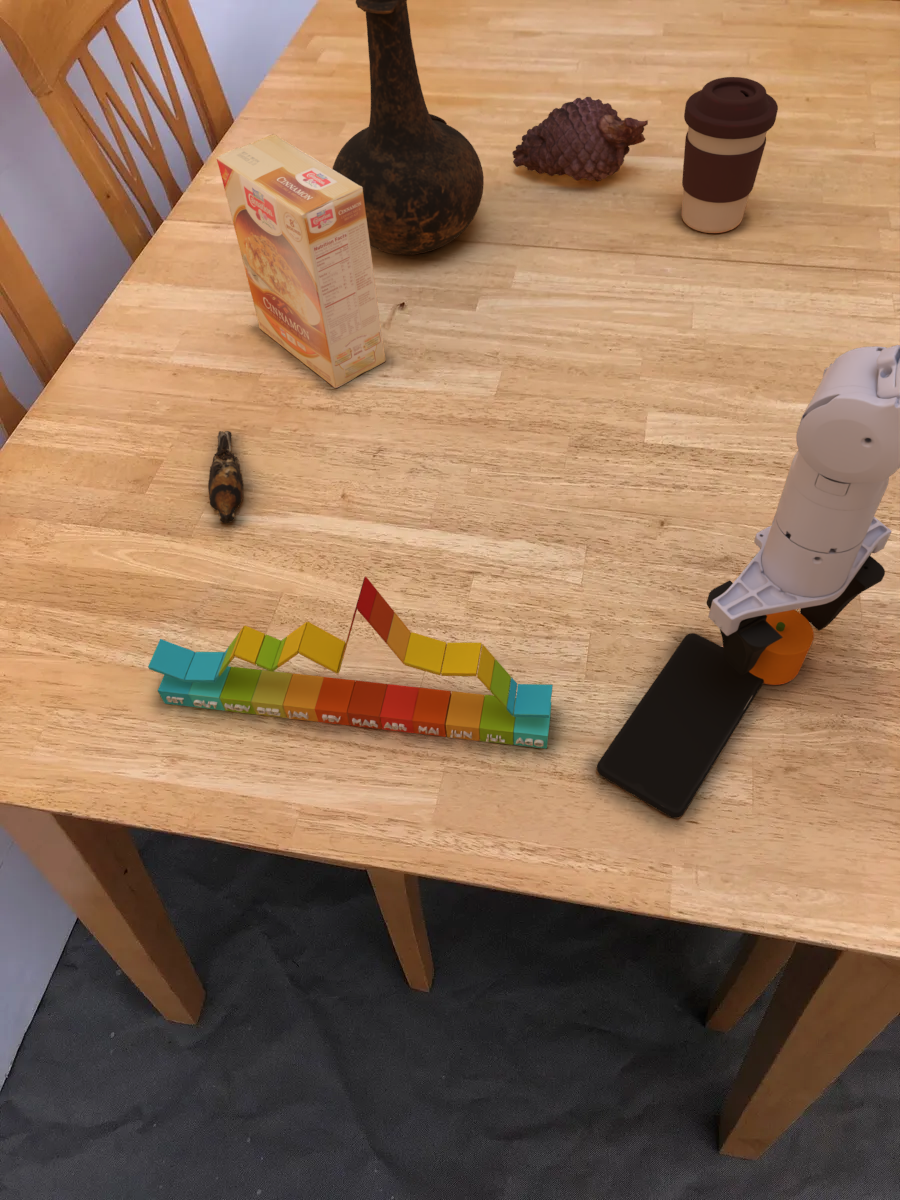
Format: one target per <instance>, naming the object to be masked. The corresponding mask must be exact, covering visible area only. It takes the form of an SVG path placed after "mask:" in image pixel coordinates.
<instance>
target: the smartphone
mask: <svg viewBox="0 0 900 1200" xmlns="http://www.w3.org/2000/svg"><path fill="white" fill-rule="evenodd" d="M763 684H764V680H763V679H761V678H759V677H757V676H755V675H753V674H751V673H750V672H747V673H745V674H744V675H740V674H739V673H738V672H737V671H736V670H735V669H734V668H733V667H732V666H731V665H730V664H729V663H728V662H727V660H726V659H725V658H724V648H723V645H722V646H721V645H720V644H717V643H716V642H714V641H712V640H710V639H708V638H706V637H704V636H702V635H699V634H697V633H694V632H690V633H687V634H686V635H685V636H684V637H683V639H682V641H681V642H680V643H679V645H678V646H677V647H676V649H675V651H674V652H673V653H672V655H671V656H670V658H669V659H668V661H667V662H666V664H665V665H664V666H663V668H662V669H661V671H660V672H659V673H658V675H657V676H656V677H655V679H654V680H653V682H652V683H651V685H650V686H649V688H648V690H647V691H646V692H645V693H644V695H643V697H642V698H641V699H640V701H639V702H638V704H637V705H636V707H635V708H634V710H633V711H632V713H631V714H630V716H629V717H628V718H627V720H626V722H625V723H624V724H623V725H622V727H621V729H619V732H618V733H617V734H616V736H615V737H614V738H613V740H612V741H611V743H610V744H609V746H608V747H607V748H606V750H605V752H604V754H603V755H601V758H600V759H599V760H598V762H597V763H596V771H597V773H598V775H599V776H600V777H602V778H604V779H605V780H607V781H609V782H610V783H612V784H614V785H615V786H617V787H619V788H621V789H622V790H623V791H625V792H627V793H629V794H631V795H633V796H634V797H636V798H637V799H639V800H641V801H643V802H644V803H646V804H647V805H649V806H651V807H653V809H656V810H658V811H659V812H661V813H662V814H664V815H666V816H668V817H669V818H672V819H678V818H681V817H683V815H684V814H685V812H686V811H687V809H688V807H689V806H690V805H691V803H692V801H693V799H694V798H695V796H696V794H697V793H698V791H699V789H700V788H701V786H703V785H702V784H703V783H704V781H705V779H706V778H707V776H708V775H709V773H710V772H711V770H712V768H713V767H714V765H715V763H716V761H717V760H718V758H719V756H720V755H721V753H722V751H723V750H724V749H725V747H726V745H727V744H728V742H729V741H730V739H731V737H732V735H733V734H734V732H735V731H736V729H737V727H738V726H739V724H740V723H741V721H742V719H743V717H744V716H745V714H746V712H747V711H748V709H749V708H750V705H751V704H752V703H753V701H754V700H755V697H756V696H757V694H758V693H759V691H760V690H761V689H762V686H763Z"/></svg>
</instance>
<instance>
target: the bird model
mask: <svg viewBox="0 0 900 1200" xmlns="http://www.w3.org/2000/svg"><path fill="white" fill-rule="evenodd" d="M217 434H218V435H217V448H216V452H215V453H214V455H213V458H212V462H211V466H210V468H209V475H208V477H209V478H208V483H207V485H208V486H207V487H208V489H207V490H208V496H209V498H208V499H209V505H210V507H211V508H212V509H213V510H215V511H218V519H219V521H220V523H224V524H228V523H229V524H230V523H232V522H233V521H234V520H235V514H236V512H235V511H236V510H237V509H238V508H239V507H240V506H241V504H242V501H243V497H244V494H243V493H244V492H243V491H244V490H243V489H244V480H243V476H242V473H241V465H240V460H239V459H238V457H237V456H235V454H234V453H232V436H233V434H232V432H231V431H229V430H225V431H222V430H220V431H218V433H217Z"/></svg>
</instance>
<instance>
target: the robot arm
mask: <svg viewBox="0 0 900 1200" xmlns="http://www.w3.org/2000/svg"><path fill="white" fill-rule="evenodd" d="M809 400H810V401H809V402H808V404H807V406H806V408H805V410H804V412H803V414H802V415H801V418H800V420H799V424H798V427H797V431H796V435H795V437H796V441H795V442H796V446H797V451H796V453H795V454H794V456H793V457H792V460H791V462H790V465H789V469H788V472H787V475H786V478H785V481H784V485H783V487H782V490H781V494H780V496H779V500H778V503H777V507H776V511H775V513H774V517H773V518H772V523H771V525H769V526H767V527H765V528H763V529H761V530H759V531H758V532H756V533H755V536H754V539H753V541H754V544H755V545H756V546H757V547H758V548H759V550H758V552H756V554H755V555H754V557H753V558H752V559H751V560H750V561H749V562H748V564H747V565H746V566H745V568H744V569H742V572H740V574H739V575H738V576H737V578H736V579H735V580H734V581H731V579H729V580H727V581H726V582H724V583H721V584H720V585H718V586H716V587H714V588H713V589H711V590H710V591H709V593H708V595H707V599H706V606H707V607H708V609H709V612H708V618H709V620H710V621H712V623H713V624H714V625H715V626H716V627H717V628H718V630H719V632H720V635H721V640H722V647H723V648H724V658H725V659H726V660H727V662H728V663H729V664H730V665H731V666H732V667H733V668H734V669H735V670H736V671H737V672H738V673H739V674H740V675H744V674H745V673H747V672H749V671H750V670H751V669H752V668H753V667H754V666H755V664H756V662H757V660H758V659H759V657H760V655H761V653H762V652H763V651H764V650H765V649H766V647H768V646H769V645H771V644H772V643H774V642H776V641H778V640H779V639H781V638H783V637H782V636H781V635H780V634H779V633H778V632H777V631H776V630H775V629H774V628H773V627H772V626H771V625H770V624H769V623H768V622H767V621H766V619H767V616H766V615H768V614H773V613H779V612H784V611H790V610H800V612H799V613H801V614H802V615H803V616H804V617H805V618H806V619H807V620H808V621H809V623H810V624H811V626H812V627H814V628H815V629H816V630H817V631H818V632H820V631H821V630H823V629H825V628H826V627H828V626H829V625H830V624H831V623H832V622H833V621H834V620H835V619H836V618H837V616H839V614H841V612H842V611H844V609H845V608H846V607H847V606H848V605H849V604H850V603H851V602H852V601H853V600H854V599H855V598H857V596H859V595H860V594H861V593H863V592H865V591H867V590H869V589H871V588H872V587H874V586H875V585H877V584H879V583H881V582H882V581H883V579H884V577H885V575H886V570H885V568H884V566H883V565H882V564H881V563H880V562H879V561H877V560H876V559H875V558H874V557H872V556H871V555H872V554H877V553H879V552H880V551H882V550H884V549H885V547H886V544H887V542H888V541H889V538H890V536H891V535H892V532H893V531H892V529H890V528H889V527H888V526H886V525H885V524H884V523H883V522H881V520H879V519H878V518H876V517H875V516H876V513H877V511H878V509H879V506H880V505H881V502H882V500H883V497H884V496H885V493H886V492H887V488H888V486H889V482H890V477H892V476H893V475H894V474H896V472H897V471H899V470H900V344H896V345H892V346H889V347H886V346H877V345H875V346H874V345H873V346H861V347H856V348H852V349H850V350H847V351H845V352H843V353H842V354H840V355H838V356H837V357H836V358H834V361H833V362H832V363H830V364H829V365H828V366H826V367H825V369H824V370H823V373H822V378H821V380H820V381H819V384H818V385H817V387H816V389H815V391H814V393H813V395H812V396H811V399H809Z"/></svg>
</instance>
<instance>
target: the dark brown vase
mask: <svg viewBox="0 0 900 1200" xmlns="http://www.w3.org/2000/svg"><path fill="white" fill-rule="evenodd" d="M407 1H408V0H355V5H356V7H357V8H358V9H360V10H361V11H362V12H364V13H365V20H366V33H367V34H366V35H367V47H368V50H367V51H368V60H369V81H370V84H369V85H370V115H369V124H368V126H367V127H365V128H364V129H361V130H359V132H357V133H355V134H354V135H353V136H351V138H349V139H348V140H347V141H346V142H345V144H344V145H343V146H342V148H341V149H340V150H339V152H338V154H337V155H336V158H335V160H334V162H333V165H332V169H333V170H335V171H336V172H338V173H340V174H341V175H343V176H345V177H346V178H348V179H349V180H351V181H353V182H354V183H356V184H358V185H359V186H362V188H363V196H364V204H365V212H366V219H367V226H368V234H369V241H370V248H371V247H372V248H373V249H375V250H378V251H381V252H383V253H386V254H387V253H388V254H392V255H393V254H394V255H404V256H406V255H408V256H409V255H418V254H424V253H428V252H431V251H434V250H437V249H440V248H442V247H444V246H446V245H448V244H450V243H451V242H453V241H454V240H456V239H457V238H459V236H460V235H461V234H462V233H463V232H464V231H465V230H466V229H467V228H468V227H469V225H470V224H471V223H472V221H473V220H474V218H475V216H476V214H477V212H478V211H479V207H480V204H481V202H482V199H483V193H484V185H485V184H484V183H485V182H484V181H485V180H484V178H485V177H484V170H483V166H482V163H481V159H480V157H479V155H478V153H477V151H476V149H475V148H474V146H473V145H472V143H471V142H470V141H469V139H467V137H466V136H465V135H464V134H462V133H461V132H460V131H459V130H457V129H456V128H454V127H453V126H452V125H449V124H447V121H445V119H443V118H441V117H439V116H437V115H435V114H432V113H429V110H428V107H427V105H426V101H425V97H424V94H423V89H422V85H421V81H420V77H419V72H418V66H417V62H416V57H415V51H414V46H413V41H412V40H413V39H412V34H411V24H410V23H411V22H410V17H409V10H408V8H409V7H408V2H407Z"/></svg>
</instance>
